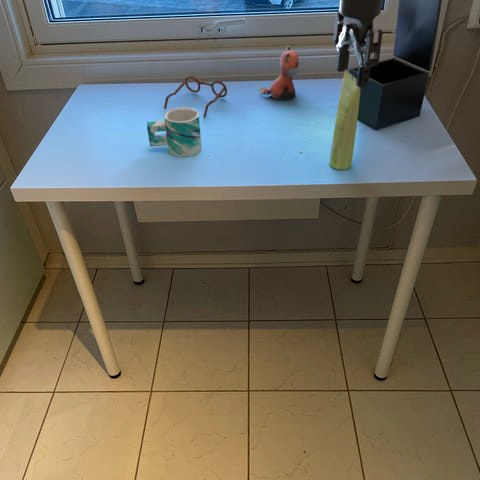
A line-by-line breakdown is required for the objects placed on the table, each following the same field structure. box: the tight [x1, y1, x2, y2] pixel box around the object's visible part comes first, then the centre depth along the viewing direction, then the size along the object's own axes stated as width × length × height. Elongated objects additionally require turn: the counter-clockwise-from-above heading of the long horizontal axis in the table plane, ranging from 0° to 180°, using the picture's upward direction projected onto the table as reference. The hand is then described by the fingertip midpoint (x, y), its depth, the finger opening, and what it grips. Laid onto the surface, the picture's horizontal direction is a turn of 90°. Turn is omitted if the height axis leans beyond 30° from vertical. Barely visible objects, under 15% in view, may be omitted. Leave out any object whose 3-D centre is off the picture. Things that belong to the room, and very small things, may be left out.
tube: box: [329, 69, 360, 171], centre depth 110 cm, size 6×5×20 cm
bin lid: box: [393, 0, 443, 72], centre depth 125 cm, size 15×13×5 cm
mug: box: [146, 106, 203, 158], centre depth 122 cm, size 8×12×8 cm
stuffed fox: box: [257, 44, 301, 101], centre depth 141 cm, size 8×11×12 cm
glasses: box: [163, 75, 228, 118], centre depth 141 cm, size 13×13×5 cm
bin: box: [348, 57, 430, 131], centre depth 131 cm, size 15×13×11 cm
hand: (351, 78), depth 104 cm, fingers open, 8 cm apart
